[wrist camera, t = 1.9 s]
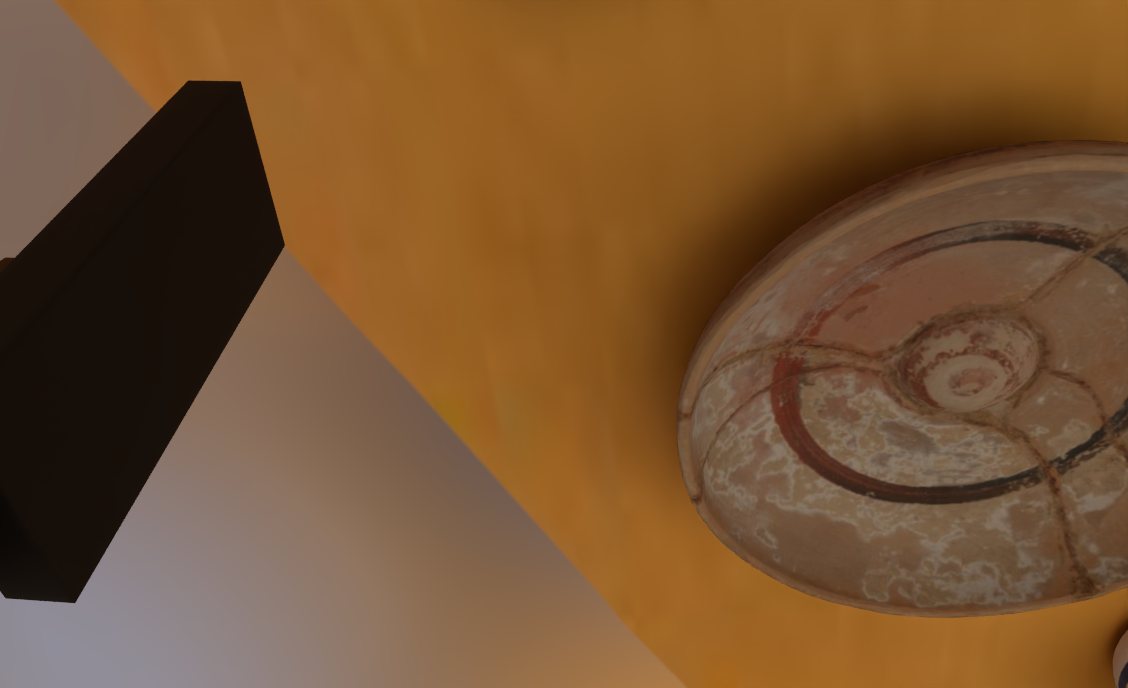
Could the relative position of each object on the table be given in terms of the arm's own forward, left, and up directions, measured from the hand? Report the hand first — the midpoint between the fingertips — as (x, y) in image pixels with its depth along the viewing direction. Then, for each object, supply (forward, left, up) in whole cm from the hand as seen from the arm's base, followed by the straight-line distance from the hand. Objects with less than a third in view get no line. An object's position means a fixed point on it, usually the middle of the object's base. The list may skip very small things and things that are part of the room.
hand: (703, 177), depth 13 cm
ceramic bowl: (+18, +13, -18) cm, 28 cm away
